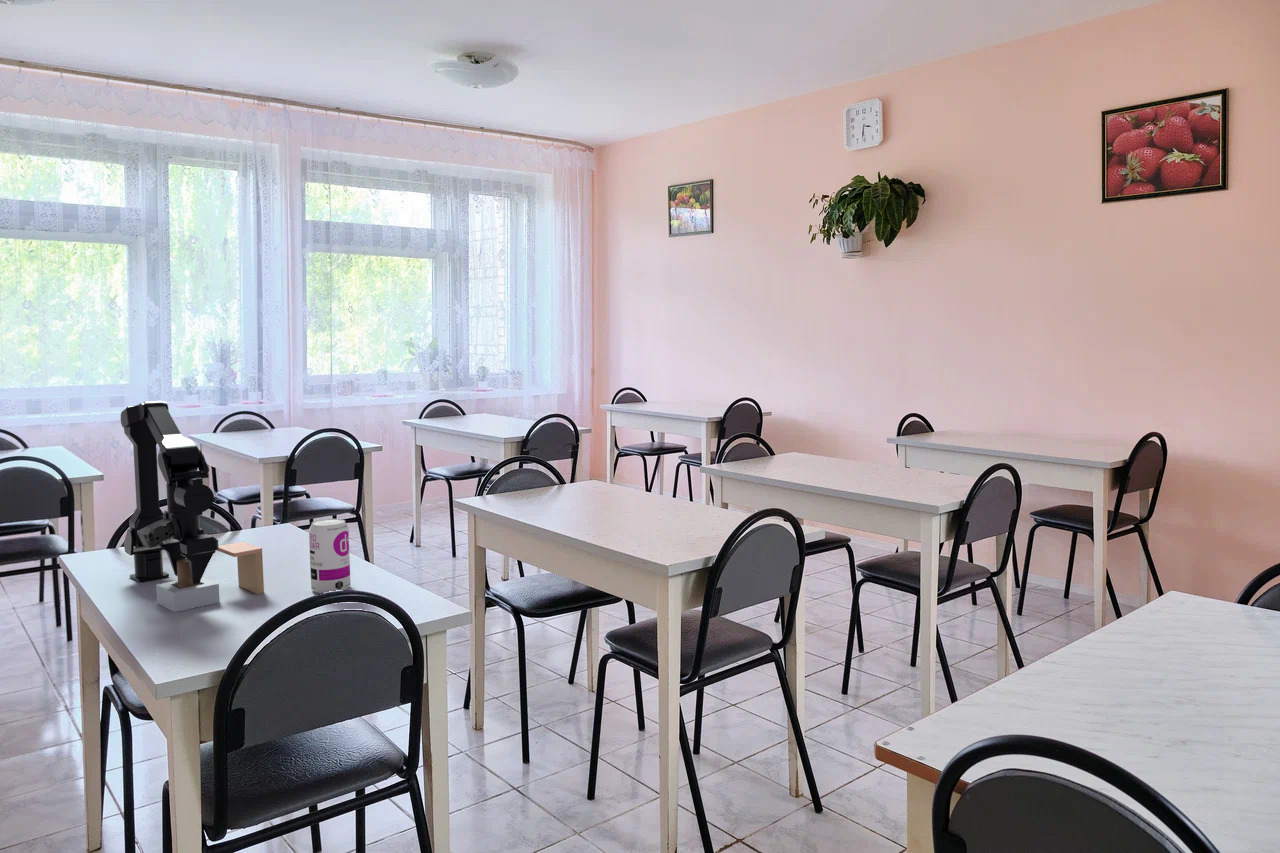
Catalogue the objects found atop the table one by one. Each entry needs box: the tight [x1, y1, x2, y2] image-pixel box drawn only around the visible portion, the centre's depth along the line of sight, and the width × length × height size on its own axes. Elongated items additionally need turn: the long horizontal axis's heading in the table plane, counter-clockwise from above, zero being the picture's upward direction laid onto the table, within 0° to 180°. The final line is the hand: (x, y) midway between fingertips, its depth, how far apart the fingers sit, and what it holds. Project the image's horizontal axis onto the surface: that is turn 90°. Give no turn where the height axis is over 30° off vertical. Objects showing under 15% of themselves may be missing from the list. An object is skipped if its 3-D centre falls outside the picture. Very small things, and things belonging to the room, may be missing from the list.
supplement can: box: [308, 518, 351, 594], centre depth 198 cm, size 8×8×15 cm
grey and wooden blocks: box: [155, 541, 265, 613], centre depth 192 cm, size 9×18×10 cm, turn 138°
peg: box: [176, 559, 196, 589], centre depth 189 cm, size 3×3×9 cm
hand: (187, 579), depth 189 cm, fingers open, 9 cm apart
